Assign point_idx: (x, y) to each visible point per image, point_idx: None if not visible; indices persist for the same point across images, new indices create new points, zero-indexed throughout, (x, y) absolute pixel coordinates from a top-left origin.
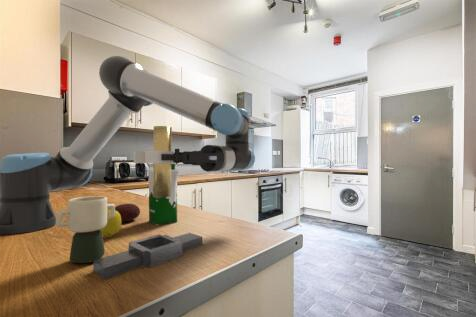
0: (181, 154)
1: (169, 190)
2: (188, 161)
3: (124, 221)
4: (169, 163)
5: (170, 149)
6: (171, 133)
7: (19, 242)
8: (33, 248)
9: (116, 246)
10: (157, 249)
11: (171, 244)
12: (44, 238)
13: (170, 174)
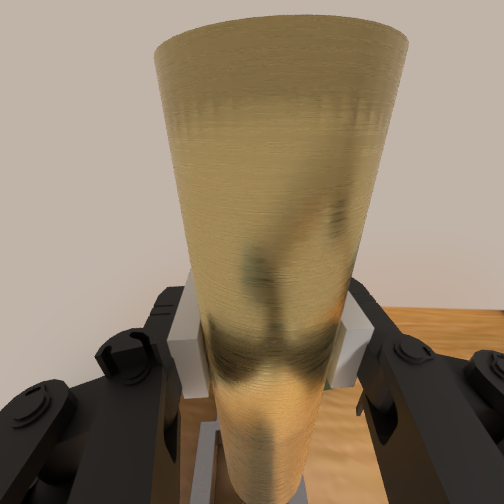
0: (76, 387)
1: (226, 462)
2: (28, 491)
3: None
4: (212, 384)
5: (204, 322)
6: (190, 163)
7: (455, 320)
8: (412, 329)
9: (370, 437)
10: (202, 443)
11: (198, 499)
12: (477, 345)
13: (223, 434)
